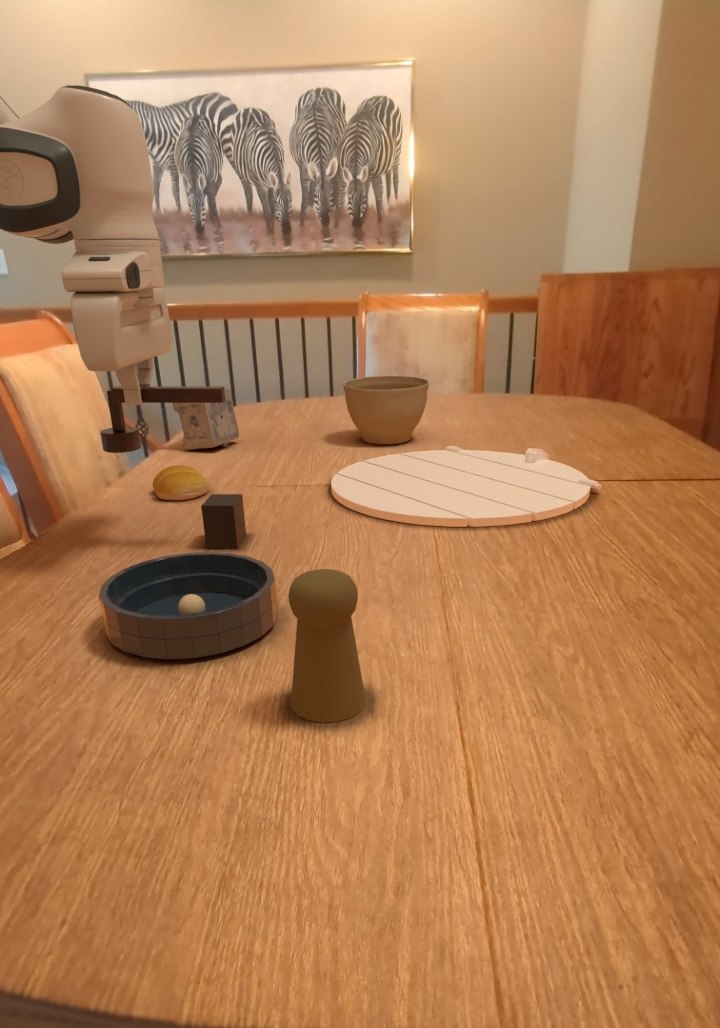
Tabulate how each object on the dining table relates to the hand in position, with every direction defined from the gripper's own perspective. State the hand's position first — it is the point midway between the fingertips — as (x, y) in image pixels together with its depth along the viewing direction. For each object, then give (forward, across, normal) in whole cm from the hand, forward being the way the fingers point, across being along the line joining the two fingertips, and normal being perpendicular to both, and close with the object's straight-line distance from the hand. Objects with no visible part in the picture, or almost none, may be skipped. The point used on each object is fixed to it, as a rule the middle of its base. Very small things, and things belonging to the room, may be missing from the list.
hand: (139, 402), depth 88 cm
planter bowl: (+17, -60, +26) cm, 67 cm away
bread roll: (+18, -23, -4) cm, 29 cm away
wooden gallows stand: (+5, 0, +2) cm, 6 cm away
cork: (+17, +38, +26) cm, 49 cm away
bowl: (+17, +24, +11) cm, 31 cm away
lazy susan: (+17, -26, +39) cm, 50 cm away
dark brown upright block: (+17, -1, +9) cm, 19 cm away
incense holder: (+18, -55, -7) cm, 58 cm away
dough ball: (+15, +24, +11) cm, 30 cm away
